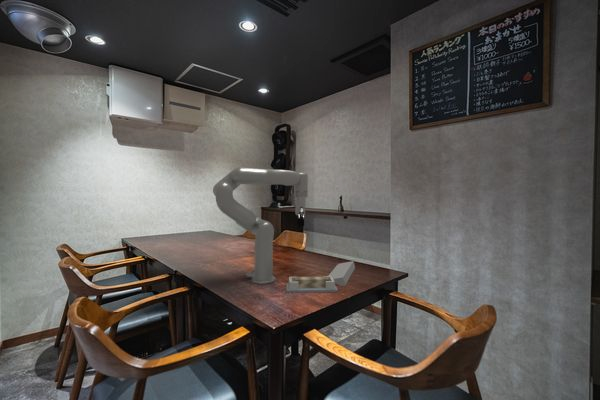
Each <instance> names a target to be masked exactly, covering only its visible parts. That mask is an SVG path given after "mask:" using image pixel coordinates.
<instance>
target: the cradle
mask: <svg viewBox="0 0 600 400" xmlns="http://www.w3.org/2000/svg"><path fill="white" fill-rule="evenodd" d="M295 277H296V276H289V277H288V283H287V282H286V286H285V288H286V293H288V294H289V293H294V294H295V293H297V294H298V293H301V294H302V293H338V292H339V290H338V287H337V286H336V285H335V281H334V280H333V278H332V276H328V275H326V276H325V275H324V276H322V277H328V279H329V281H326V288H298V286H299V282H295Z"/></svg>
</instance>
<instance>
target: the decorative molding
mask: <svg viewBox="0 0 600 400" xmlns="http://www.w3.org/2000/svg"><path fill="white" fill-rule="evenodd" d="M355 270H356V266H355V262H354V260H353V261H347V262H340V263H337V264H336V266H335V267H334V268H333V269H332V270H331V272H330V273H329V274H328V275H327V276H332V278H333V280H334V281H335V286H336V285H338V286H339V287H345V286H346V285H347V284H348V281H349V280H350V278H351V277H352V274H353V273H354V271H355Z"/></svg>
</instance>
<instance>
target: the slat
mask: <svg viewBox="0 0 600 400" xmlns="http://www.w3.org/2000/svg"><path fill="white" fill-rule="evenodd" d="M294 277H295V282H299V286H298V288H326V281H329V279H328V277H323V276H294Z"/></svg>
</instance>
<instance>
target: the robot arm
mask: <svg viewBox="0 0 600 400" xmlns="http://www.w3.org/2000/svg"><path fill="white" fill-rule="evenodd" d="M308 177H309V175H308V173H307V172H297V171H295V170H287V169H271V168H256V167H245V166H244V167H242V166H241V167H236V168H233V169H232V170H231V171H230V172H229V173H227V174H226V175H225V176H224V177H223V178H222V179H220V180H219V181H218V182H216V183H215V184H214V185H213V187H212V194H213V195H214V196H215V202H216V205H217V208H218V209H219V211H220V212H222V213H223V214H225V216H227V217H228V218H230V219H232V221H234V222H235V223H236V224H237V225H238V226H240V227H241V228H243V229H244V230H246V231H247V232H249V233H251V234H252V235H253V236H255V240H254V247H253V248H254V250H253V251H254V271H252V272H249V271H247V272H245V276H246V277H247V278H251V279H250V280H251V282H252V283H254V284H257V285H259V284H260V285H266V284H271V283H274V282H275V281H276V276H274V275H273V271H274V270H273V269H274V268H273V266H274V265H273V260H274V259H273V258H274V257H273V254H274V253H273V252H274V251H273V250H274V249H273V247H274V246H273V245H274V236H275V227H274V226H273V224H272V223H271V222H270V221H268V220H266V219H262V218H260V217H259V216H257V215H256V214H255V213H254V211H252V210H251V209H249V208H247V207H246V206H245V205H242V204H241V203H240V202H238V201H237V200H236V199H235V197H234V195H233V193H234V191H235V190H236V189H237V188H238V187H240V185H251V186H256V185H258V186H270V185H271V186H272V185H283V186H286V187H287V186H293V189H294V190H293V191H294V192H293V194H294V195H293V198H295V215H296V216H297V217H296V221H297V226H298V227H305V215H306V198H308V194H309V193H308V185H309V182H308V181H309V179H308Z"/></svg>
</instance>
